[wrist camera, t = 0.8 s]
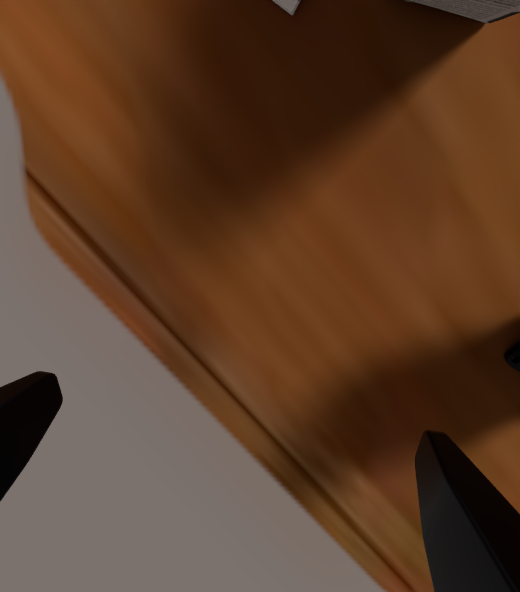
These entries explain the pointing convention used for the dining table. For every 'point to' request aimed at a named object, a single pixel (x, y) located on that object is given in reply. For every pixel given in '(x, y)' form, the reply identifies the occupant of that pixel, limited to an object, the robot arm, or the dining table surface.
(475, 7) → the candy bar box
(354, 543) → the dining table surface
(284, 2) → the mat
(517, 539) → the robot arm
